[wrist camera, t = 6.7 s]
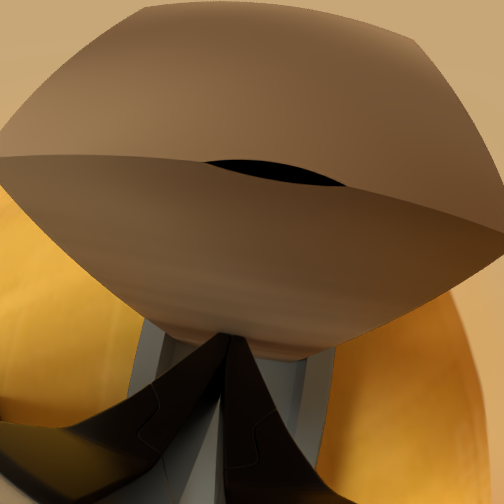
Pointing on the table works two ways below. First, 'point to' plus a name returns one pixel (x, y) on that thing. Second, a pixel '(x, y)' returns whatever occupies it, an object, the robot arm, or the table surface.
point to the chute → (273, 372)
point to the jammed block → (257, 174)
